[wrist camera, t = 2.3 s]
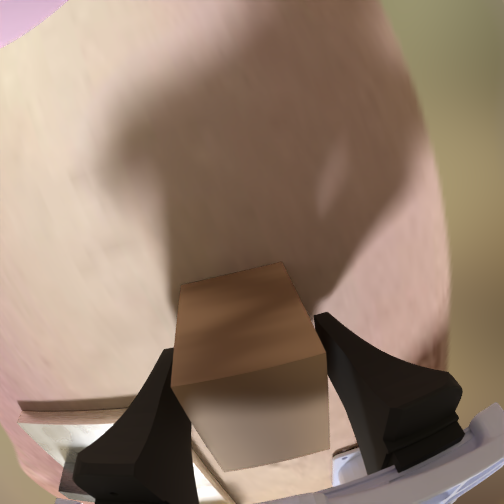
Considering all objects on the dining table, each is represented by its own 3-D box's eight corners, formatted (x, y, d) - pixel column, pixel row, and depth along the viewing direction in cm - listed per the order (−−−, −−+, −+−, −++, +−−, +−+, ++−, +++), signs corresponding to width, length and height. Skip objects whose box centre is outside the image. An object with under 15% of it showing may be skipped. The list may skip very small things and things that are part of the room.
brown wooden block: (281, 261, 14) (326, 352, 8) (297, 358, 16) (329, 448, 11) (181, 284, 14) (170, 386, 8) (215, 376, 16) (224, 472, 11)
